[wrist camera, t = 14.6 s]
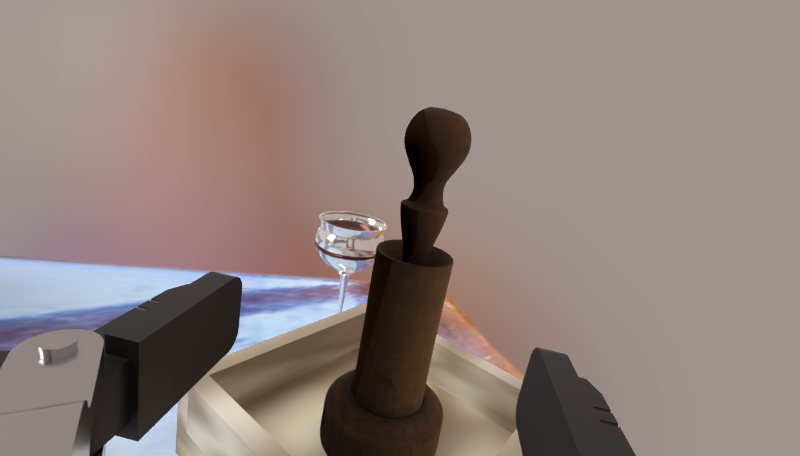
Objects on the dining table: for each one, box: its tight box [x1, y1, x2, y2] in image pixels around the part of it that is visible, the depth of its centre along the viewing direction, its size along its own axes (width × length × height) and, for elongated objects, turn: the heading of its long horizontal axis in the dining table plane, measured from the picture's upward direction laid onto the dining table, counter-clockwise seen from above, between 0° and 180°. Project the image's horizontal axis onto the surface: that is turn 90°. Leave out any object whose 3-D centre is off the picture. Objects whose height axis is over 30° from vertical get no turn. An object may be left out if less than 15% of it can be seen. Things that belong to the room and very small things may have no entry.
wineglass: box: [315, 211, 387, 321], centre depth 40 cm, size 7×7×12 cm
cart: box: [176, 303, 523, 456], centre depth 23 cm, size 15×15×8 cm
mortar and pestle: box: [320, 107, 471, 456], centre depth 20 cm, size 7×6×18 cm
